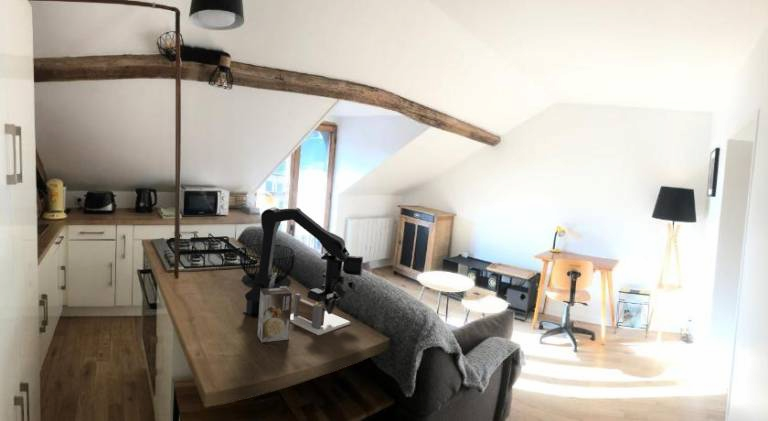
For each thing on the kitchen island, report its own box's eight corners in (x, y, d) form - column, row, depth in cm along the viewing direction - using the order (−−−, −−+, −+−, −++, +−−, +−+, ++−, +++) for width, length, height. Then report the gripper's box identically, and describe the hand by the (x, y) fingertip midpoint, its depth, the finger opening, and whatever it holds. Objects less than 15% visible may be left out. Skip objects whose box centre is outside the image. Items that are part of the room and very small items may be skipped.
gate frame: (318, 335, 156) (321, 307, 155) (283, 318, 167) (286, 292, 165) (349, 324, 169) (352, 298, 167) (315, 309, 179) (318, 285, 178)
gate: (319, 326, 160) (321, 309, 159) (297, 315, 167) (298, 299, 166) (323, 325, 161) (325, 308, 160) (300, 314, 168) (302, 298, 168)
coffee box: (284, 332, 156) (287, 286, 153) (289, 340, 150) (293, 293, 148) (256, 334, 151) (260, 287, 149) (260, 342, 146) (264, 294, 143)
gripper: (331, 282, 152) (326, 327, 154) (367, 273, 167) (362, 314, 169) (308, 274, 159) (304, 317, 161) (344, 266, 173) (341, 305, 176)
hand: (329, 313), depth 166 cm, fingers closed
